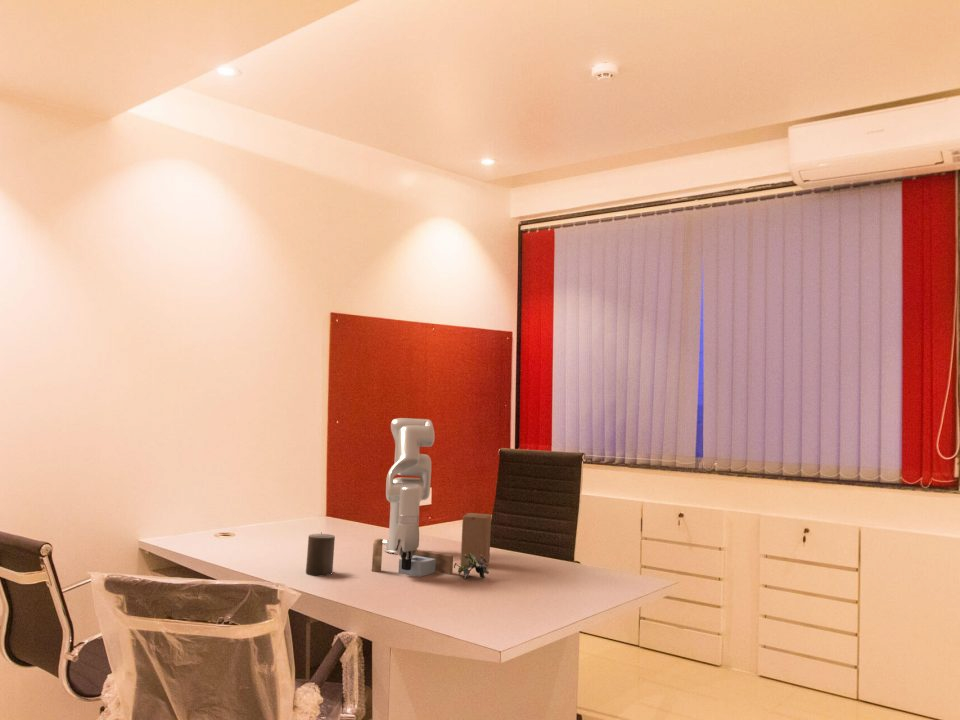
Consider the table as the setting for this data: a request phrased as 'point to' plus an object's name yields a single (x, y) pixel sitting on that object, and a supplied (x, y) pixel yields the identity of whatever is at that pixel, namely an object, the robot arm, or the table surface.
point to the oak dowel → (377, 555)
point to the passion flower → (476, 563)
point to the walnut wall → (438, 560)
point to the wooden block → (476, 537)
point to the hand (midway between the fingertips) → (406, 569)
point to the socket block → (419, 566)
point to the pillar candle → (320, 554)
